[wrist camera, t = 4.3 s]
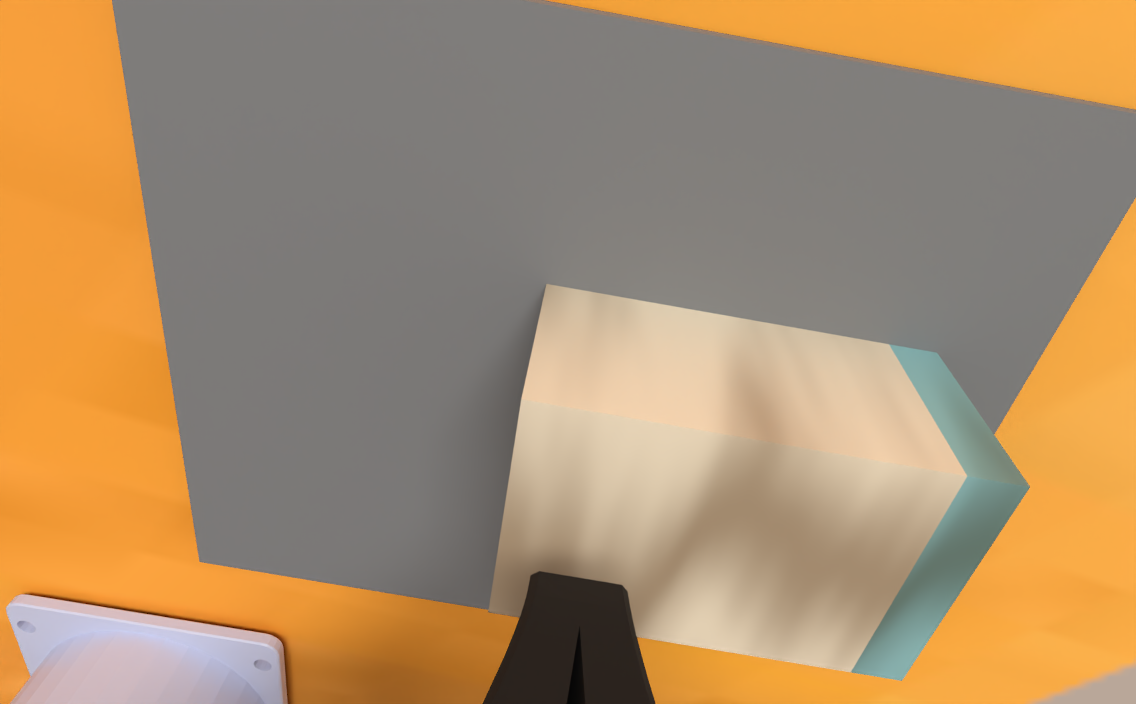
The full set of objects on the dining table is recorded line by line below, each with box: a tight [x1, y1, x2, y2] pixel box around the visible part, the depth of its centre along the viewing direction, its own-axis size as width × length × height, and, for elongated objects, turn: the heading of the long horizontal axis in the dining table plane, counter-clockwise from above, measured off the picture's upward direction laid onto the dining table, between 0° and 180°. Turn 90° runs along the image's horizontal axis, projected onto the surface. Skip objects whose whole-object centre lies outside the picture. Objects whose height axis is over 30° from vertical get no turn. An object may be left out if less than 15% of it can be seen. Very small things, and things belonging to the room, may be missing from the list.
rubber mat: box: [112, 0, 1136, 610], centre depth 16 cm, size 15×18×1 cm
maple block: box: [488, 284, 1030, 681], centre depth 14 cm, size 5×4×8 cm
